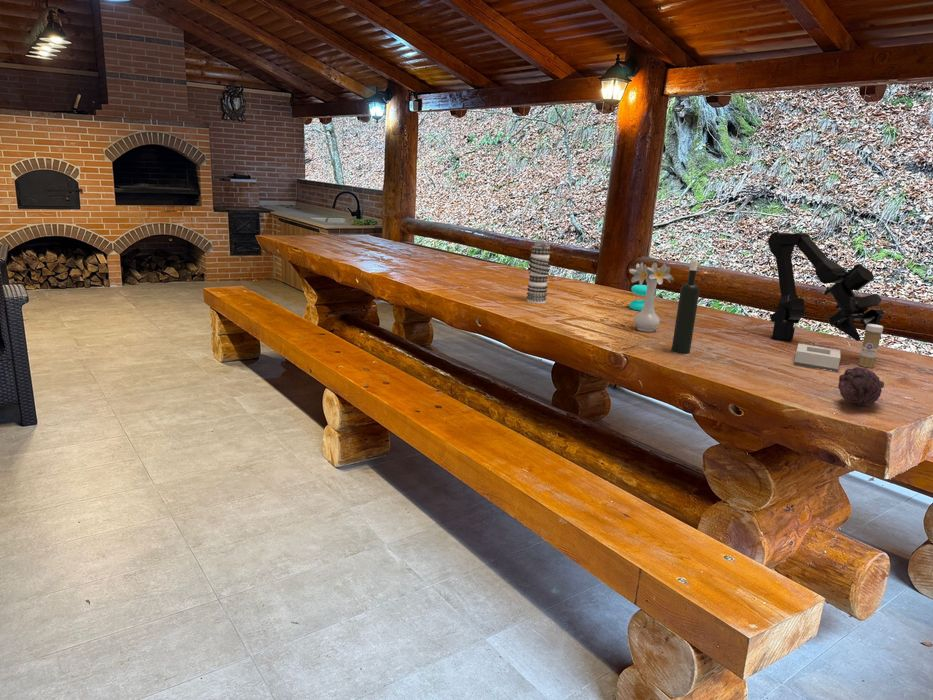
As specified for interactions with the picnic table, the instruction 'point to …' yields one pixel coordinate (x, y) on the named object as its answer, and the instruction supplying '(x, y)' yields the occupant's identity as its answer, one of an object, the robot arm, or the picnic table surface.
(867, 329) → the sprinkles bottle
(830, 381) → the picnic table surface
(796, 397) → the picnic table surface
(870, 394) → the pine cone
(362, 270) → the picnic table surface
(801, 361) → the socket block
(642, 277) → the flower vase
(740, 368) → the picnic table surface
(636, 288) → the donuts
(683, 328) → the wine bottle
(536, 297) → the decorative candle
